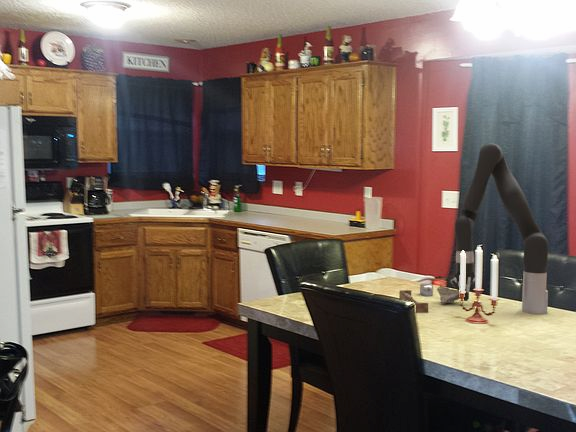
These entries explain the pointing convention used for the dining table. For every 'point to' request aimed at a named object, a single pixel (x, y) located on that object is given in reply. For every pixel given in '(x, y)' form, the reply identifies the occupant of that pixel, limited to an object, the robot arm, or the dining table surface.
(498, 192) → the robot arm
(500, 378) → the dining table surface
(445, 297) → the rock
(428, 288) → the tin
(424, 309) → the stand
